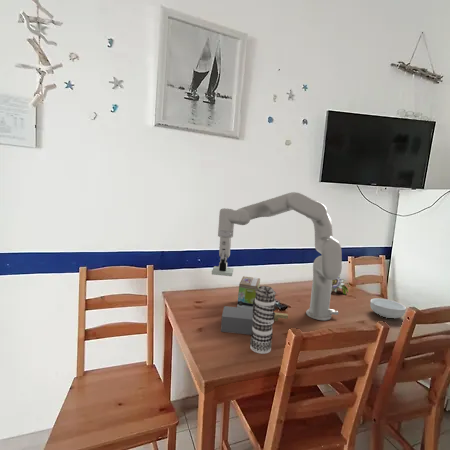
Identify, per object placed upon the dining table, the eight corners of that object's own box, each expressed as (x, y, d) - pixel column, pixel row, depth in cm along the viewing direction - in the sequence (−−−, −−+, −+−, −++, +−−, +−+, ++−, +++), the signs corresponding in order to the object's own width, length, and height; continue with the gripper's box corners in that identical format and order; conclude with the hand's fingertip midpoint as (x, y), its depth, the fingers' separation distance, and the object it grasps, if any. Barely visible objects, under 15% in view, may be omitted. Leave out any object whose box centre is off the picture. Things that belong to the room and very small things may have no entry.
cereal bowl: (404, 315, 166) (405, 302, 165) (404, 326, 151) (406, 312, 150) (370, 307, 174) (371, 295, 173) (367, 316, 160) (369, 304, 159)
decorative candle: (260, 356, 114) (265, 293, 111) (244, 345, 121) (249, 286, 118) (276, 350, 120) (282, 290, 116) (261, 340, 127) (266, 283, 124)
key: (286, 320, 148) (287, 313, 148) (287, 322, 146) (288, 315, 145) (264, 318, 149) (265, 311, 149) (264, 320, 147) (265, 313, 146)
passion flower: (330, 301, 196) (320, 282, 199) (339, 294, 204) (329, 276, 207) (345, 296, 187) (334, 276, 190) (355, 289, 195) (344, 270, 198)
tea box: (255, 313, 153) (258, 286, 151) (236, 311, 155) (238, 283, 153) (258, 303, 168) (260, 277, 166) (240, 300, 170) (242, 275, 168)
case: (258, 323, 142) (260, 309, 141) (259, 335, 131) (260, 320, 130) (223, 320, 143) (224, 306, 142) (220, 331, 132) (221, 316, 131)
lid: (233, 270, 156) (233, 261, 155) (231, 276, 146) (232, 266, 145) (214, 269, 156) (214, 259, 156) (211, 274, 146) (212, 264, 146)
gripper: (232, 236, 140) (229, 274, 142) (234, 231, 157) (231, 265, 159) (216, 235, 141) (213, 273, 143) (219, 230, 157) (217, 264, 159)
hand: (223, 269), depth 151 cm, fingers closed on lid, 4 cm apart
